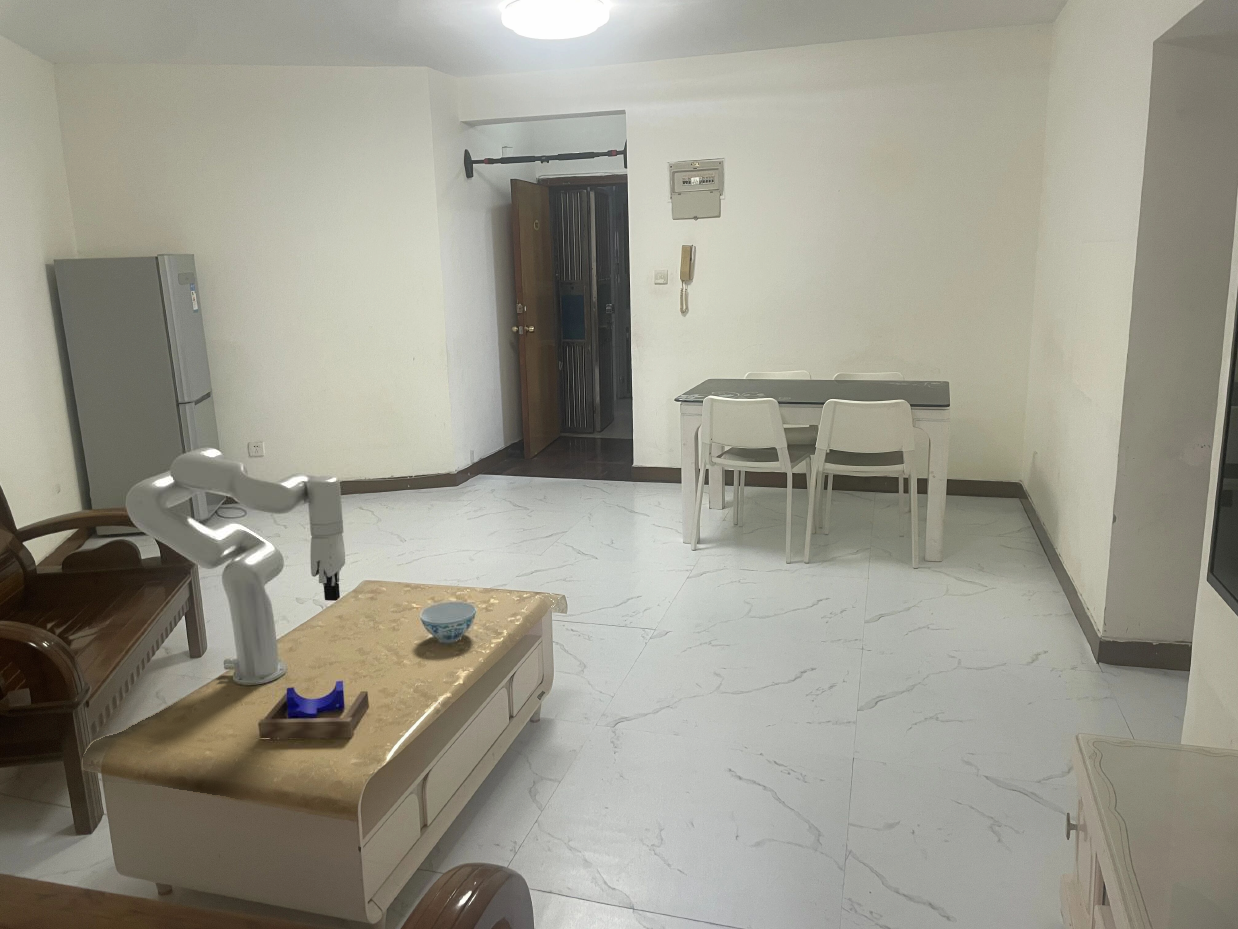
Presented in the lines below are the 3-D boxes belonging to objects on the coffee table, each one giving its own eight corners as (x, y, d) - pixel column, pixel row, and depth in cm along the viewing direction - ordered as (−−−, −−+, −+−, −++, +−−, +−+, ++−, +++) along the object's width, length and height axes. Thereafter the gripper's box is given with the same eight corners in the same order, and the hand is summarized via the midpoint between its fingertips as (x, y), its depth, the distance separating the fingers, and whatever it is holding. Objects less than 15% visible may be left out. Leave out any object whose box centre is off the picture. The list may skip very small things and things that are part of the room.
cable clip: (288, 722, 190) (286, 702, 187) (289, 707, 193) (286, 688, 190) (344, 713, 194) (343, 694, 191) (344, 699, 197) (342, 680, 194)
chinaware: (472, 649, 225) (470, 621, 223) (416, 650, 225) (413, 623, 224) (482, 626, 240) (480, 600, 238) (429, 627, 240) (427, 602, 238)
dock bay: (260, 739, 183) (258, 722, 182) (285, 708, 196) (283, 692, 196) (351, 738, 183) (349, 721, 182) (371, 707, 196) (369, 691, 195)
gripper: (324, 518, 211) (330, 588, 215) (297, 536, 197) (304, 610, 201) (354, 519, 211) (358, 588, 215) (328, 537, 196) (334, 611, 200)
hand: (332, 599), depth 208 cm, fingers closed
